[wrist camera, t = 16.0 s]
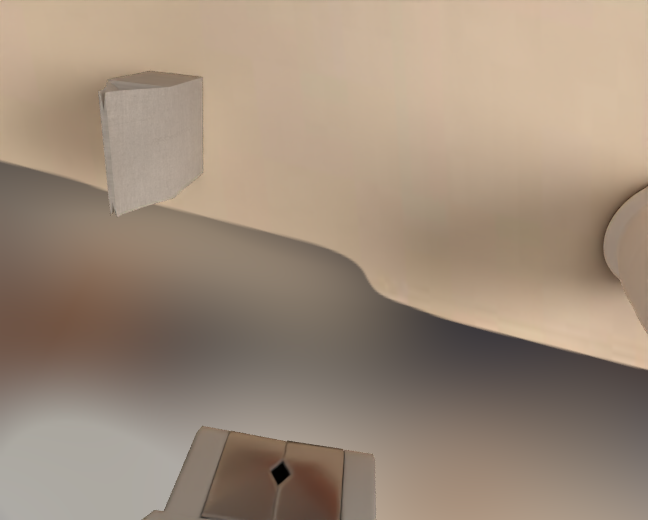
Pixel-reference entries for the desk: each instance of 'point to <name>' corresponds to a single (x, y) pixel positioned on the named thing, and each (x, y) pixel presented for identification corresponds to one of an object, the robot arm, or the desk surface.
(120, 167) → the tea bag
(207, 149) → the desk surface
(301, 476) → the robot arm
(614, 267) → the jar
